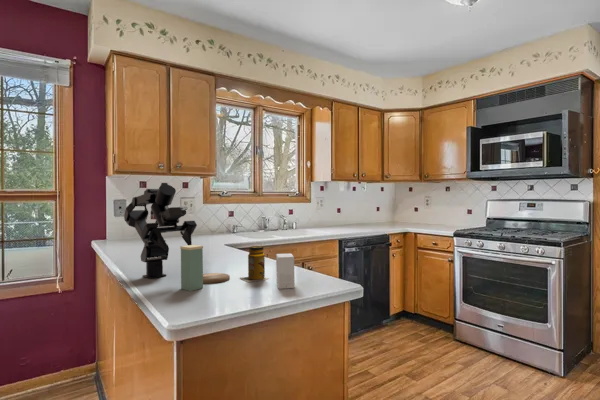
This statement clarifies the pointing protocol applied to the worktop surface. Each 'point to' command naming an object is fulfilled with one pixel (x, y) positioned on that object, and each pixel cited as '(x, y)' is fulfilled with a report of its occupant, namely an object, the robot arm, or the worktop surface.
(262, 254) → the condiment
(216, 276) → the disc
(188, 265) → the tea tin
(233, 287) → the worktop surface
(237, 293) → the worktop surface
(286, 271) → the small box
